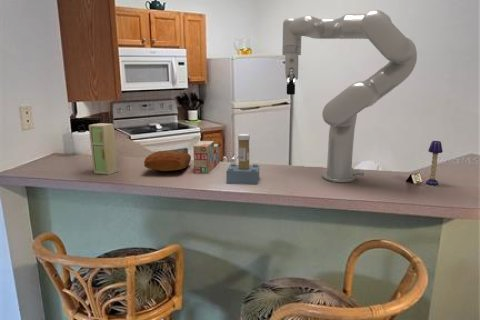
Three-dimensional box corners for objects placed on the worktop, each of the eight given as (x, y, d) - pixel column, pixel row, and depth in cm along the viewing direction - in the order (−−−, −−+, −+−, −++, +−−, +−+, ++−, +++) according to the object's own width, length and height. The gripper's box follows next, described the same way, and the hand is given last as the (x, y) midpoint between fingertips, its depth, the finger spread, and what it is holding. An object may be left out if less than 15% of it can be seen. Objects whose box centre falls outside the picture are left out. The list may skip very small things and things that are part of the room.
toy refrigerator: (92, 173, 150) (87, 124, 145) (104, 169, 157) (100, 122, 152) (106, 175, 147) (102, 125, 143) (118, 171, 154) (114, 123, 149)
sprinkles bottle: (251, 168, 138) (252, 134, 135) (242, 170, 135) (242, 135, 132) (245, 166, 142) (245, 133, 139) (235, 167, 139) (235, 134, 136)
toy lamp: (437, 186, 130) (443, 142, 127) (423, 184, 133) (429, 141, 129) (438, 183, 134) (444, 140, 131) (425, 181, 137) (430, 139, 133)
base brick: (259, 177, 144) (259, 163, 142) (257, 184, 134) (257, 169, 133) (230, 176, 145) (230, 162, 144) (226, 183, 136) (226, 168, 134)
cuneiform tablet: (180, 177, 144) (179, 158, 142) (140, 176, 146) (139, 157, 144) (193, 164, 165) (193, 148, 163) (158, 164, 167) (158, 147, 165)
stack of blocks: (207, 162, 171) (206, 137, 168) (219, 162, 170) (219, 137, 167) (194, 173, 150) (193, 145, 148) (208, 174, 149) (207, 145, 147)
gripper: (302, 49, 134) (300, 94, 137) (299, 52, 150) (298, 93, 154) (282, 49, 134) (281, 94, 138) (282, 53, 151) (281, 93, 155)
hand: (290, 94), depth 146 cm, fingers open, 9 cm apart
